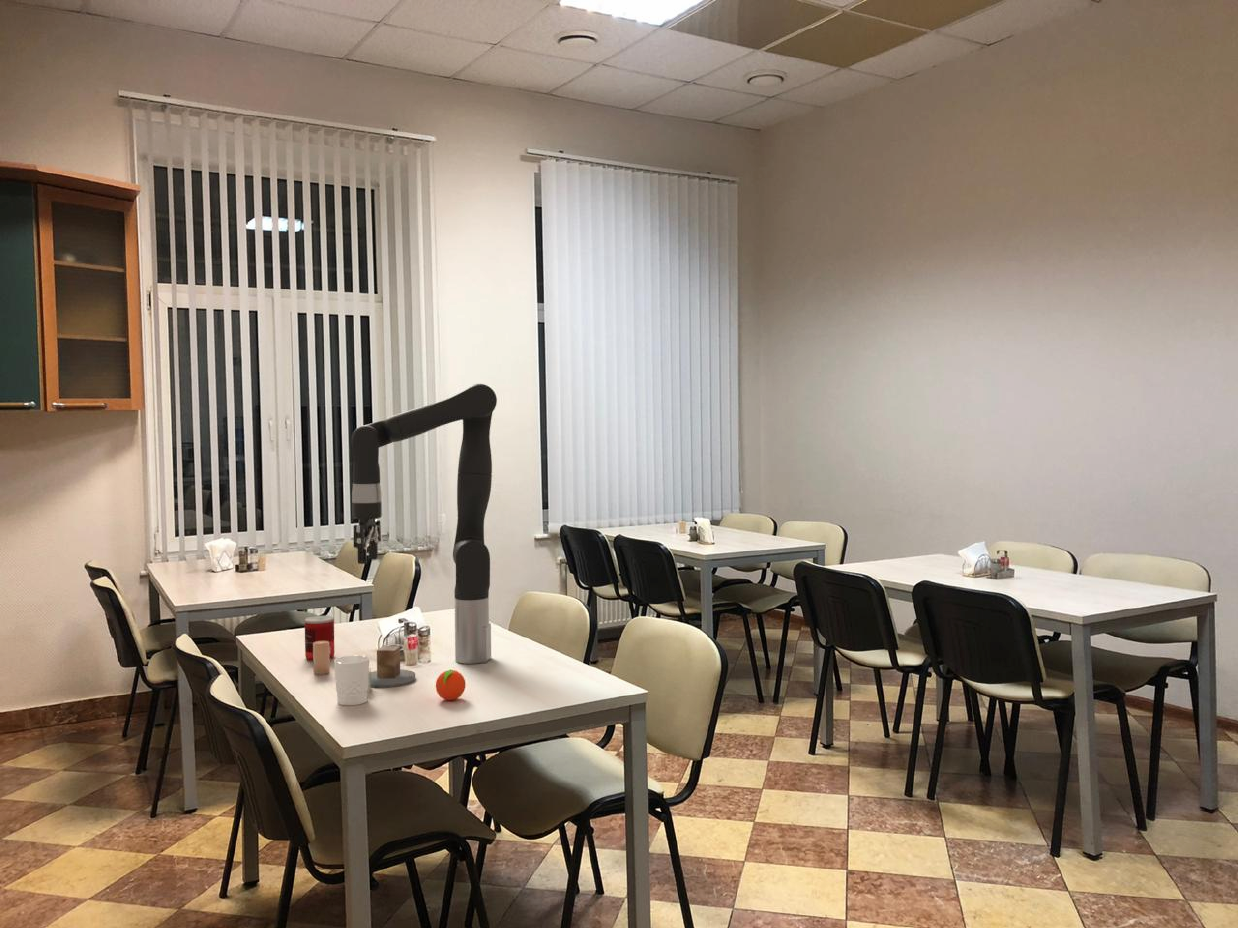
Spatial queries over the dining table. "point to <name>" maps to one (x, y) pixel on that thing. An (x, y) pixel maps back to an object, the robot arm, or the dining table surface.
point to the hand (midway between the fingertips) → (367, 561)
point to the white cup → (352, 679)
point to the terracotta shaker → (321, 657)
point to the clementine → (450, 685)
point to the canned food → (319, 634)
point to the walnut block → (388, 662)
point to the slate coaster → (393, 679)
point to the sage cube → (369, 681)
